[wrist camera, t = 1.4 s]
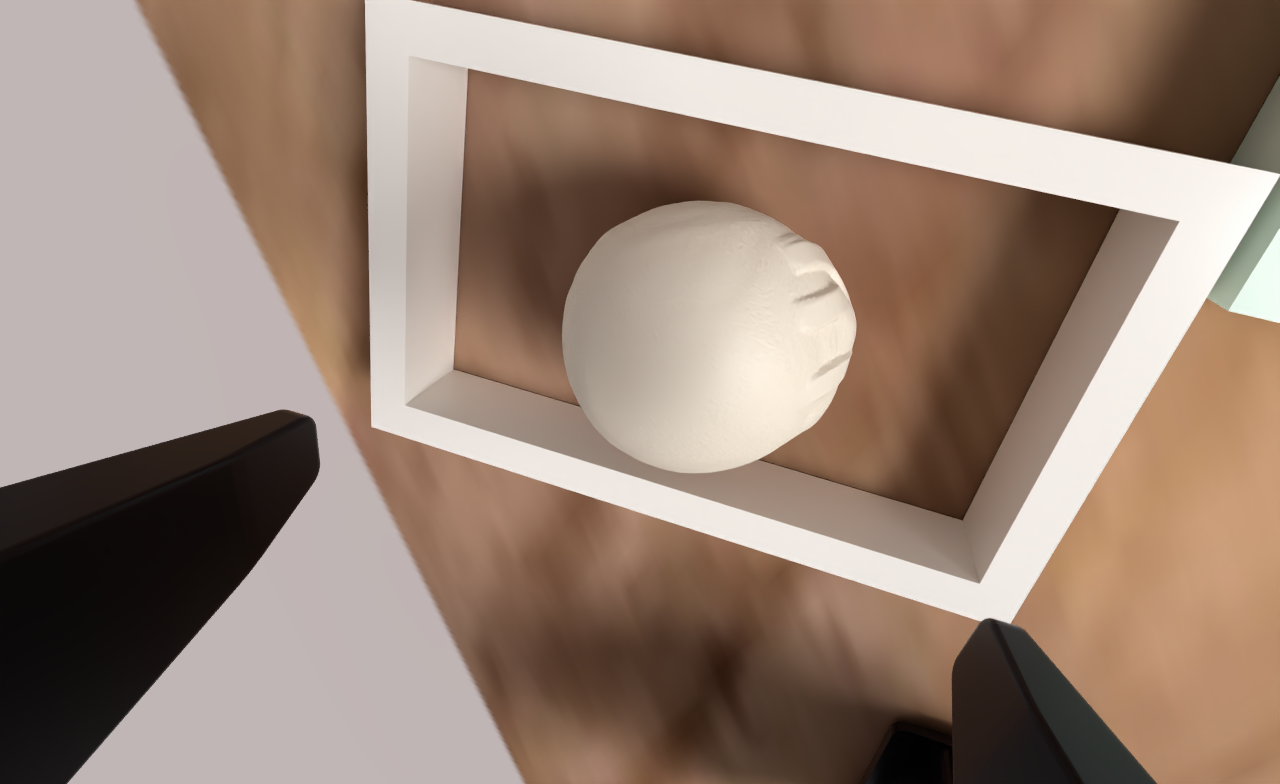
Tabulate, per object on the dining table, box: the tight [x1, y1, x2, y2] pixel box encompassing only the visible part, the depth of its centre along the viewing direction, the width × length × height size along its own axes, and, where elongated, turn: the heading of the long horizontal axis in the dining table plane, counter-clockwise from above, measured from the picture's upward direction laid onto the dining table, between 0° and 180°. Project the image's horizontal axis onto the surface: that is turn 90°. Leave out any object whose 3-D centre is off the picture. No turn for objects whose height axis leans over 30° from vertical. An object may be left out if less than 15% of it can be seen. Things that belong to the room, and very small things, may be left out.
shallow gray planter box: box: [365, 0, 1280, 623], centre depth 19 cm, size 12×20×3 cm, turn 79°
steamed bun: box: [562, 200, 856, 473], centre depth 17 cm, size 7×7×7 cm
